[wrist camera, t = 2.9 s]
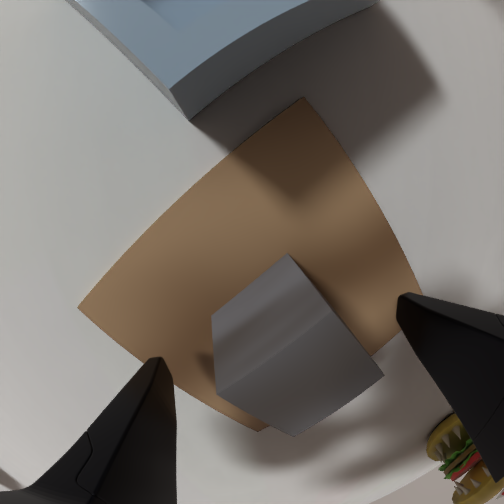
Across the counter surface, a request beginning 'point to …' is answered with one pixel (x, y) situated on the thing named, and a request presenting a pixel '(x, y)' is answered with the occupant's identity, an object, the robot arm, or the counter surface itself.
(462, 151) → the counter surface
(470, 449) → the hamburger
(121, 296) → the lid
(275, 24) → the light blue open box
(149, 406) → the robot arm
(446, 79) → the counter surface
